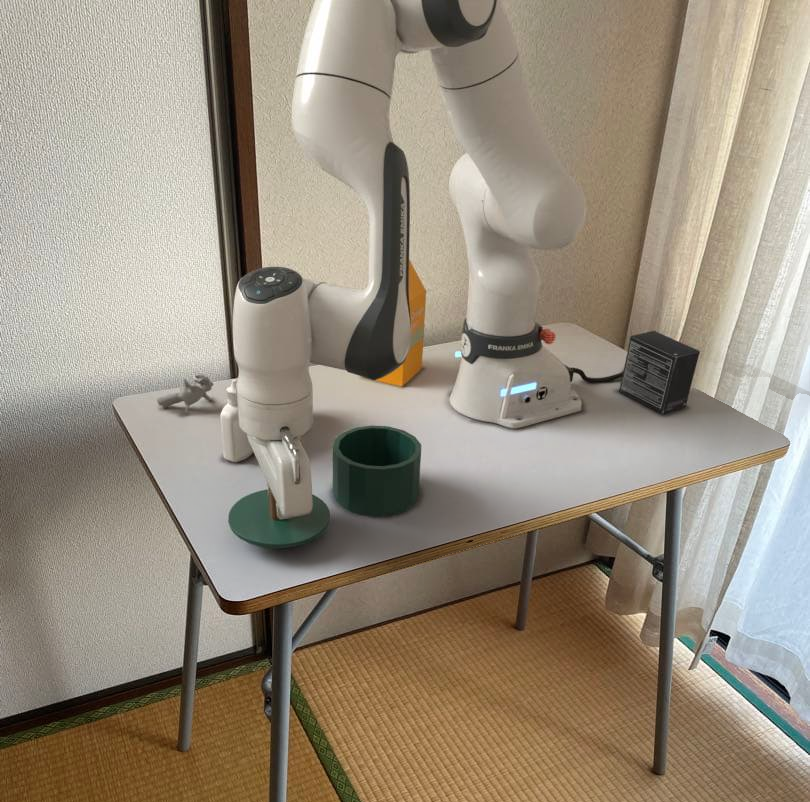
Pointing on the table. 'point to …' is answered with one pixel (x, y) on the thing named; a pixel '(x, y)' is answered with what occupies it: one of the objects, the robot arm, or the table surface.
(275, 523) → the lid
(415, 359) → the orange juice
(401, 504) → the pot
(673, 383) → the small box
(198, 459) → the table surface
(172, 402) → the grey creature figurine
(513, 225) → the robot arm
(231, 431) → the eye dropper bottle
